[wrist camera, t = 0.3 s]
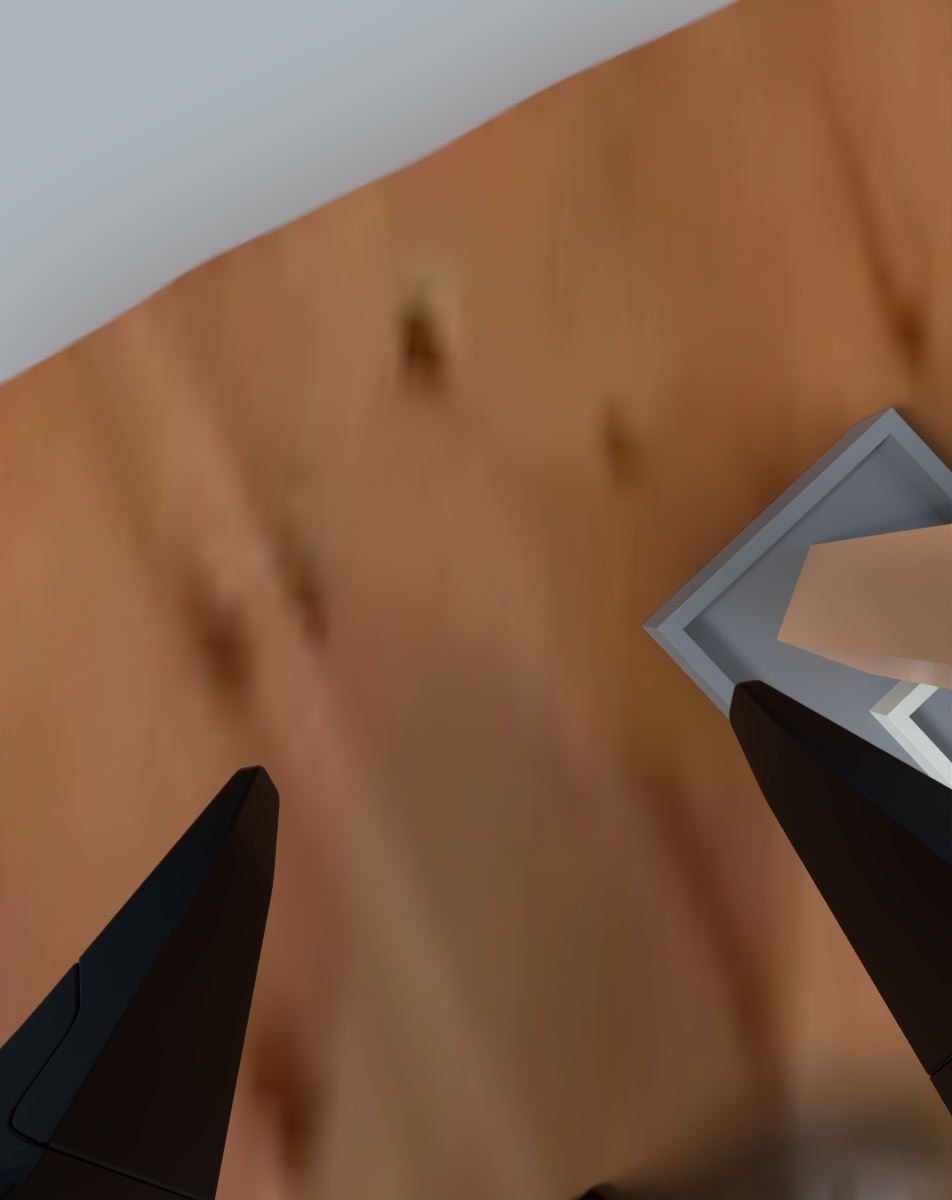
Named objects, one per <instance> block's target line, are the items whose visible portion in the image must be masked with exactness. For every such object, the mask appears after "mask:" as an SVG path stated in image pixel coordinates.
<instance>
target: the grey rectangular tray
mask: <svg viewBox="0 0 952 1200" xmlns="http://www.w3.org/2000/svg"><path fill="white" fill-rule="evenodd" d="M948 524H952V472H951V471H950V470H949V469H948V468H947V467H946V466H945V465H944V464H943V463H942V461H941V460H940V459H939V458H938V457H937V456H936V455H935V454H934V453H933V452H932V451H931V449H930V448H929V447H928V446H927V445H926V444H925V443H924V442H923V441H922V440H921V439H920V437H919V436H918V435H917V434H916V433H915V432H914V431H913V430H912V429H911V428H910V427H909V425H908V424H907V423H906V422H905V421H904V420H903V419H902V418H901V417H900V416H899V415H898V414H897V412H896V411H895V410H894V409H893V408H892V407H891V408H889V409H886V410H884V411H882V412H880V413H877V414H875V415H873V416H871V417H869V418H866V419H864V420H862V421H860V422H857V423H856V424H855V425H854V426H853V427H852V428H851V429H850V430H849V431H848V432H847V433H846V434H845V435H844V436H842V437H841V438H840V439H839V440H838V441H837V442H836V443H835V444H834V445H833V446H832V447H831V448H830V449H829V450H828V451H827V452H825V453H824V454H823V455H822V456H821V457H820V458H819V459H818V460H817V461H816V462H815V463H814V464H813V465H812V466H811V467H810V468H808V469H807V470H806V471H805V472H804V473H803V474H802V475H801V476H800V477H799V478H798V479H797V480H796V481H795V482H794V483H793V484H791V485H790V486H789V487H788V488H787V489H786V490H785V491H784V492H783V493H782V494H781V495H780V496H779V497H778V498H777V499H776V500H774V501H773V502H772V503H771V504H770V505H769V506H768V507H767V508H766V509H765V510H764V511H763V512H762V513H761V514H760V515H759V516H757V517H756V518H755V519H754V520H753V521H752V522H751V523H750V524H749V525H748V526H747V527H746V528H745V529H744V530H743V531H742V532H740V533H739V534H738V535H737V536H736V537H735V538H734V539H733V540H732V541H731V542H730V543H729V544H728V545H727V546H726V547H725V548H723V549H722V550H721V551H720V552H719V553H718V554H717V555H716V556H715V557H714V558H713V559H712V560H711V561H710V562H709V563H708V564H706V565H705V566H704V567H703V568H702V569H701V570H700V571H699V572H698V573H697V574H696V575H695V576H694V577H693V578H692V579H691V580H689V581H688V582H687V583H686V584H685V585H684V586H683V587H682V588H681V589H680V590H679V591H678V592H677V593H676V594H675V595H674V596H672V597H671V598H670V599H669V600H668V601H667V602H666V603H665V604H664V605H663V606H662V607H661V608H660V609H659V610H658V611H657V612H655V613H654V614H653V615H652V616H651V617H650V618H649V619H648V620H647V621H646V622H645V623H644V624H643V625H642V627H643V628H644V629H645V630H646V631H647V632H648V633H649V635H650V636H651V637H652V638H653V639H654V640H655V641H656V642H657V643H658V644H659V645H660V646H661V647H662V648H663V650H664V651H665V652H666V653H667V654H668V655H669V656H670V657H671V658H672V659H673V660H674V661H675V662H676V663H677V665H678V666H679V667H680V668H681V669H682V670H683V671H684V672H685V673H686V674H687V675H688V676H689V677H690V678H691V679H692V681H693V682H694V683H695V684H696V685H697V686H698V687H699V688H700V689H701V690H702V691H703V692H704V693H705V694H706V696H707V697H708V698H709V699H710V700H711V701H712V702H713V703H714V704H715V705H716V706H717V707H718V708H719V709H720V711H721V712H722V713H723V714H724V715H725V716H726V717H727V718H728V719H729V710H730V705H731V700H732V695H733V691H734V687H735V685H736V684H737V683H739V682H744V681H750V680H760V681H763V682H765V683H766V684H768V685H770V686H772V687H773V688H775V689H777V690H779V691H781V692H782V693H784V694H786V695H788V696H789V697H791V698H793V699H795V700H796V701H798V702H800V703H802V704H803V705H805V706H807V707H809V708H810V709H812V710H814V711H816V712H817V713H819V714H821V715H823V716H824V717H826V718H828V719H830V720H831V721H833V722H835V723H837V724H838V725H840V726H842V727H844V728H845V729H847V730H849V731H851V732H853V733H854V734H856V735H858V736H860V737H861V738H863V739H865V740H867V741H868V742H870V743H872V744H874V745H875V746H877V747H879V748H881V749H882V750H884V751H886V752H888V753H889V754H891V755H893V756H895V757H896V758H898V759H900V760H902V761H903V762H905V763H907V764H909V765H910V766H912V767H914V768H916V769H918V770H919V771H921V772H923V773H925V774H926V775H928V776H930V777H932V778H933V779H935V780H937V781H939V782H940V783H942V784H944V785H946V786H947V787H949V788H951V789H952V690H951V689H946V688H941V687H936V686H931V685H925V684H920V683H915V682H910V681H905V680H900V679H894V678H889V677H884V676H879V675H874V674H869V673H866V672H864V671H861V670H858V669H855V668H853V667H850V666H847V665H844V664H842V663H839V662H836V661H833V660H831V659H828V658H825V657H822V656H819V655H817V654H814V653H811V652H808V651H806V650H803V649H800V648H797V647H795V646H792V645H789V644H786V643H784V642H781V641H778V640H776V639H777V637H778V634H779V631H780V628H781V625H782V623H783V620H784V617H785V614H786V612H787V609H788V606H789V603H790V601H791V598H792V595H793V592H794V589H795V587H796V584H797V581H798V578H799V576H800V573H801V570H802V567H803V565H804V562H805V559H806V556H807V554H808V551H809V548H810V545H815V544H821V543H828V542H835V541H841V540H848V539H855V538H861V537H868V536H875V535H881V534H888V533H894V532H901V531H908V530H914V529H921V528H928V527H934V526H941V525H948ZM729 720H730V719H729Z"/></svg>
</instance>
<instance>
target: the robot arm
mask: <svg viewBox="0 0 952 1200" xmlns="http://www.w3.org/2000/svg"><path fill="white" fill-rule="evenodd" d="M729 719H730V723H731V725H732V728H733V730H734V732H735V734H736V737H737V739H738V741H739V743H740V745H741V748H742V750H743V752H744V754H745V756H746V759H747V761H748V763H749V765H750V767H751V770H752V772H753V774H754V776H755V778H756V781H757V783H758V785H759V787H760V789H761V791H762V793H763V795H764V797H765V799H766V801H767V803H768V805H769V806H770V808H771V810H772V812H773V813H774V815H775V817H776V818H777V820H778V822H779V824H780V825H781V827H782V829H783V830H784V832H785V834H786V835H787V837H788V839H789V840H790V842H791V844H792V846H793V847H794V849H795V851H796V852H797V854H798V856H799V857H800V859H801V861H802V862H803V864H804V866H805V868H806V869H807V871H808V873H809V874H810V876H811V878H812V879H813V881H814V883H815V885H816V886H817V888H818V890H819V891H820V893H821V895H822V896H823V898H824V900H825V901H826V903H827V905H828V907H829V908H830V910H831V912H832V913H833V915H834V917H835V918H836V920H837V922H838V923H839V925H840V927H841V929H842V930H843V932H844V934H845V935H846V937H847V939H848V940H849V942H850V944H851V945H852V947H853V949H854V951H855V952H856V954H857V956H858V957H859V959H860V961H861V962H862V964H863V966H864V967H865V969H866V971H867V973H868V974H869V976H870V978H871V979H872V981H873V983H874V984H875V986H876V988H877V989H878V991H879V993H880V995H881V996H882V998H883V1000H884V1001H885V1003H886V1005H887V1006H888V1008H889V1010H890V1012H891V1013H892V1015H893V1017H894V1018H895V1020H896V1022H897V1023H898V1025H899V1027H900V1028H901V1030H902V1032H903V1034H904V1035H905V1037H906V1039H907V1040H908V1042H909V1044H910V1045H911V1047H912V1049H913V1050H914V1052H915V1054H916V1056H917V1057H918V1059H919V1061H920V1062H921V1064H922V1066H923V1067H924V1069H925V1071H926V1072H927V1074H928V1075H930V1076H931V1077H930V1080H931V1082H932V1083H933V1085H934V1087H935V1088H936V1090H937V1092H938V1093H939V1095H940V1097H941V1099H942V1100H943V1102H944V1104H945V1105H946V1107H947V1109H948V1110H949V1112H950V1114H951V1115H952V789H951V788H949V787H947V786H946V785H944V784H942V783H940V782H939V781H937V780H935V779H933V778H932V777H930V776H928V775H926V774H925V773H923V772H921V771H919V770H918V769H916V768H914V767H912V766H910V765H909V764H907V763H905V762H903V761H902V760H900V759H898V758H896V757H895V756H893V755H891V754H889V753H888V752H886V751H884V750H882V749H881V748H879V747H877V746H875V745H874V744H872V743H870V742H868V741H867V740H865V739H863V738H861V737H860V736H858V735H856V734H854V733H853V732H851V731H849V730H847V729H845V728H844V727H842V726H840V725H838V724H837V723H835V722H833V721H831V720H830V719H828V718H826V717H824V716H823V715H821V714H819V713H817V712H816V711H814V710H812V709H810V708H809V707H807V706H805V705H803V704H802V703H800V702H798V701H796V700H795V699H793V698H791V697H789V696H788V695H786V694H784V693H782V692H781V691H779V690H777V689H775V688H773V687H772V686H770V685H768V684H766V683H765V682H763V681H760V680H750V681H744V682H739V683H737V684H736V685H735V687H734V691H733V695H732V700H731V705H730V710H729ZM278 816H279V794H278V791H277V789H276V787H275V785H274V784H273V782H272V780H271V778H270V777H269V775H268V773H267V772H266V770H265V768H264V767H262V766H259V765H257V766H252V767H246V768H241V769H239V770H238V771H237V772H236V773H235V774H234V775H233V776H232V777H231V778H230V780H229V781H228V782H227V783H226V784H225V786H224V787H223V788H222V789H221V790H220V791H219V793H218V794H217V795H216V796H215V797H214V799H213V800H212V801H211V802H210V803H209V805H208V806H207V807H206V808H205V809H204V810H203V812H202V813H201V814H200V815H199V816H198V818H197V819H196V820H195V821H194V822H193V824H192V825H191V826H190V827H189V828H188V829H187V831H186V832H185V833H184V834H183V835H182V837H181V838H180V839H179V840H178V841H177V843H176V844H175V845H174V846H173V847H172V848H171V850H170V851H169V852H168V853H167V854H166V856H165V857H164V858H163V859H162V860H161V862H160V863H159V864H158V865H157V866H156V867H155V869H154V870H153V871H152V872H151V873H150V875H149V876H148V877H147V878H146V879H145V881H144V882H143V883H142V884H141V885H140V886H139V888H138V889H137V890H136V891H135V892H134V894H133V895H132V896H131V897H130V898H129V900H128V901H127V902H126V903H125V904H124V905H123V907H122V908H121V909H120V910H119V911H118V913H117V914H116V915H115V916H114V917H113V919H112V920H111V921H110V922H109V923H108V924H107V926H106V927H105V928H104V929H103V930H102V932H101V933H100V934H99V935H98V936H97V938H96V939H95V940H94V941H93V942H92V944H91V945H90V946H89V947H88V948H87V949H86V951H85V952H84V953H83V954H82V955H81V957H80V958H79V963H75V964H74V965H73V966H72V967H71V968H70V969H69V971H68V972H67V973H66V974H65V975H64V977H63V978H62V979H61V980H60V981H59V982H58V984H57V985H56V986H55V987H54V988H53V990H52V991H51V992H50V993H49V994H48V995H47V996H46V998H45V999H44V1000H43V1001H42V1002H41V1003H40V1004H39V1006H38V1007H37V1008H36V1009H35V1010H34V1011H33V1013H32V1014H31V1015H30V1016H29V1017H28V1018H27V1019H26V1021H25V1022H24V1023H23V1024H22V1025H21V1026H20V1027H19V1029H18V1030H17V1031H16V1032H15V1033H14V1034H13V1035H12V1036H11V1037H10V1038H9V1039H8V1041H7V1042H6V1043H5V1044H4V1045H3V1046H2V1047H1V1048H0V1200H215V1196H216V1190H217V1185H218V1180H219V1174H220V1169H221V1164H222V1158H223V1153H224V1147H225V1142H226V1137H227V1131H228V1126H229V1120H230V1115H231V1110H232V1104H233V1099H234V1094H235V1088H236V1083H237V1077H238V1072H239V1067H240V1061H241V1056H242V1050H243V1045H244V1040H245V1034H246V1029H247V1024H248V1018H249V1013H250V1007H251V1002H252V997H253V991H254V986H255V980H256V975H257V970H258V964H259V959H260V954H261V948H262V943H263V937H264V932H265V927H266V921H267V916H268V910H269V905H270V900H271V894H272V887H273V879H274V869H275V856H276V843H277V830H278ZM583 1200H604V1199H603V1198H602V1197H601V1196H600V1195H599V1194H596V1193H592V1194H589V1195H587V1196H586V1197H585V1198H584V1199H583Z"/></svg>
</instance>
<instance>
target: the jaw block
mask: <svg viewBox="0 0 952 1200" xmlns="http://www.w3.org/2000/svg"><path fill="white" fill-rule="evenodd" d="M776 640H778V641H781V642H784V643H786V644H789V645H792V646H795V647H797V648H800V649H803V650H806V651H808V652H811V653H814V654H817V655H819V656H822V657H825V658H828V659H831V660H833V661H836V662H839V663H842V664H844V665H847V666H850V667H853V668H855V669H858V670H861V671H864V672H866V673H869V674H874V675H879V676H884V677H889V678H894V679H900V680H905V681H910V682H915V683H920V684H925V685H931V686H936V687H941V688H946V689H951V690H952V524H948V525H941V526H934V527H928V528H921V529H914V530H908V531H901V532H894V533H888V534H881V535H875V536H868V537H861V538H855V539H848V540H841V541H835V542H828V543H821V544H815V545H810V548H809V551H808V554H807V556H806V559H805V562H804V565H803V567H802V570H801V573H800V576H799V578H798V581H797V584H796V587H795V589H794V592H793V595H792V598H791V601H790V603H789V606H788V609H787V612H786V614H785V617H784V620H783V623H782V625H781V628H780V631H779V634H778V637H777V639H776Z"/></svg>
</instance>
